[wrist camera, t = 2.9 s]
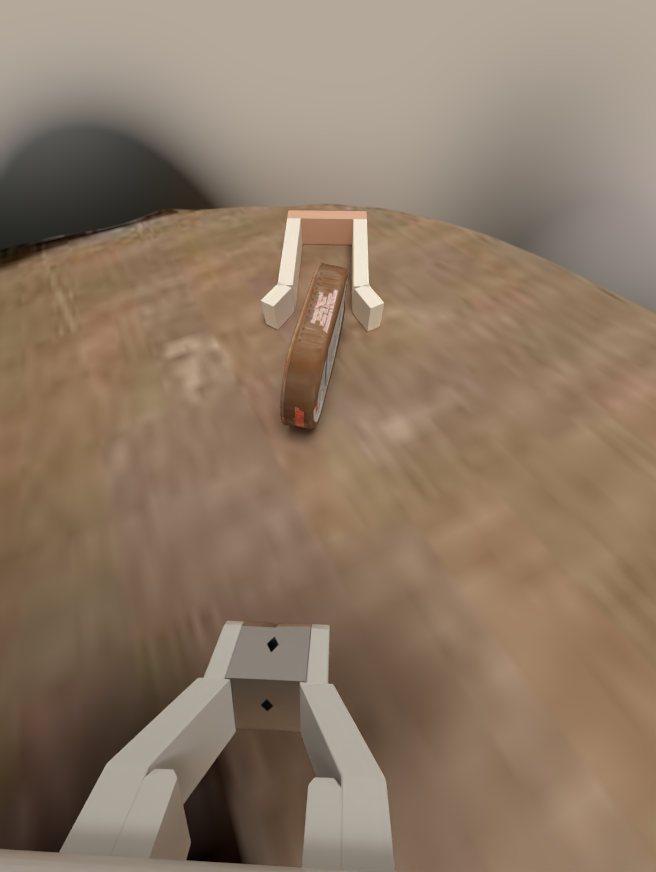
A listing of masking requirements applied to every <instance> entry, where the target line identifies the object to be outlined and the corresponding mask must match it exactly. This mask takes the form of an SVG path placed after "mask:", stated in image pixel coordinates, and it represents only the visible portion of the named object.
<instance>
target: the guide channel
mask: <svg viewBox="0 0 656 872" xmlns="http://www.w3.org/2000/svg"><path fill="white" fill-rule="evenodd" d="M303 244H332V245H352V310H353V314H354V315H355V316H356V318H357V319H358V320H359V322H360V323H361V324H362V325H363V327H364V328H365V329H366V331H367V332H368V331H370V330H373V329H375V328H377V327H380V323H381V317H382V312H383V306H384V302H383V301H382V300H381V299H380V298H379V296H378V295H377V294H376V293H375V292H374V291H373V289H372V288H371V287H370V286H369V275H368V245H367V214H366V211H288V218H287V225H286V231H285V238H284V245H283V252H282V259H281V265H280V272H279V279H278V284H277V285H276V286H275V287H274V288H273V289H272V290H271V291H270V292H269V293H268V294H267V295H266V296H265V297H264V298H263V299H262V300H261V304H262V308H263V313H264V317H265V321H266V324H267V325H269V326H271V327H273V328H275V329H277V330H278V329H279V328H280V327H281V326H282V325H283V324H284V323H285V322H286V321H287V319H288V318H289V317H290V316H291V315H292V314H293V313H294V309H296V301H297V292H298V283H299V273H300V264H301V255H302V245H303Z"/></svg>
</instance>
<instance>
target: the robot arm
mask: <svg viewBox="0 0 656 872" xmlns="http://www.w3.org/2000/svg"><path fill="white" fill-rule="evenodd" d="M329 633H330V627H329V625H315V624H290V623H278V624H274V623H260V622H243V621H227V622H226V623H225V625H224V626H223V629H222V631H221V634H220V636H219V639H218V641H217V644H216V646H215V649H214V652H213V654H212V657H211V659H210V662H209V664H208V667H207V670H206V672H205V675H204V677H203V678H197V679H196V680H195V681H194V682H193V683H192V684H191V685H190V686H188V687H187V688H186V689H185V690H184V691H183V692H182V693H181V694H180V695H179V696H178V697H177V698H176V699H175V700H174V701H173V702H171V703H170V704H169V705H168V706H167V707H166V708H165V709H164V710H163V711H162V712H161V713H160V714H159V715H158V716H157V717H156V718H154V719H153V720H152V721H151V722H150V723H149V724H148V725H147V726H146V727H145V728H144V729H143V730H142V731H141V732H140V733H139V734H137V735H136V736H135V737H134V738H133V739H132V740H131V741H130V742H129V743H128V744H127V745H126V746H125V747H124V748H123V749H122V750H120V751H119V752H118V753H117V754H116V755H115V756H114V757H113V758H112V759H111V760H110V761H109V762H108V763H107V764H106V766H105V768H104V770H103V771H102V773H101V775H100V777H99V779H98V781H97V783H96V784H95V786H94V788H93V790H92V792H91V794H90V796H89V798H88V799H87V801H86V803H85V805H84V807H83V809H82V811H81V812H80V814H79V816H78V818H77V820H76V822H75V824H74V825H73V827H72V829H71V831H70V833H69V835H68V837H67V839H66V840H65V842H64V844H63V846H62V848H61V850H60V852H59V853H57V852H41V851H25V850H8V849H0V872H395V864H394V854H393V844H392V835H391V825H390V815H389V805H388V796H387V786H386V779H385V777H384V775H383V773H382V772H381V770H380V768H379V766H378V764H377V762H376V761H375V759H374V757H373V755H372V753H371V752H370V750H369V748H368V746H367V744H366V742H365V741H364V739H363V737H362V735H361V733H360V732H359V730H358V728H357V726H356V724H355V723H354V721H353V719H352V717H351V715H350V713H349V712H348V710H347V708H346V706H345V704H344V703H343V701H342V699H341V697H340V695H339V693H338V692H337V690H336V688H335V686H334V684H328V676H329ZM236 729H270V730H282V731H294V732H301V736H302V739H303V742H304V744H305V747H306V750H307V753H308V756H309V758H310V761H311V764H312V767H313V769H314V772H315V775H316V777H314V779H313V780H312V781H311V782H310V784H309V785H308V796H307V808H306V821H305V833H304V846H303V858H302V868H301V867H285V866H269V865H252V864H236V863H220V862H204V861H188V860H186V859H187V855H188V851H189V848H190V844H191V840H190V836H189V831H188V826H187V822H186V817H185V812H184V807H183V804H184V803H185V801H186V800H187V799H188V797H189V796H190V794H191V793H192V792H193V790H194V789H195V788H196V786H197V785H198V783H199V782H200V781H201V779H202V778H203V776H204V775H205V774H206V772H207V771H208V770H209V768H210V767H211V765H212V764H213V763H214V761H215V760H216V758H217V757H218V756H219V754H220V753H221V751H222V750H223V749H224V747H225V746H226V745H227V743H228V742H229V740H230V739H231V738H232V736H233V735H234V733H235V732H236Z"/></svg>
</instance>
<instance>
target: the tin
mask: <svg viewBox="0 0 656 872" xmlns="http://www.w3.org/2000/svg"><path fill="white" fill-rule="evenodd" d="M349 275H350V272H349V270H348V269H346V268H342V267H338V266H333V265H328V264H324V263H323V262H319V264H318V265H317V267H316V270H315V272H314V275H313V278H312V281H311V284H310V287H309V290H308V293H307V296H306V299H305V302H304V305H303V308H302V311H301V314H300V317H299V320H298V323H297V326H296V329H295V332H294V334H293V337H292V341H291V344H290V347H289V351H288V356H287V360H286V365H285V371H284V376H283V382H282V390H281V407H280V408H281V420H282V423H283V424H284V425H293V426H298V427H303V428H309V429H312V428H315V427H316V425H317V424H318V421H319V418H320V415H321V411H322V408H323V404H324V400H325V396H326V392H327V388H328V385H329V381H330V377H331V373H332V369H333V365H334V361H335V357H336V352H337V348H338V343H339V339H340V334H341V329H342V324H343V318H344V312H345V293H346V285H347V282H348V280H349Z"/></svg>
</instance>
